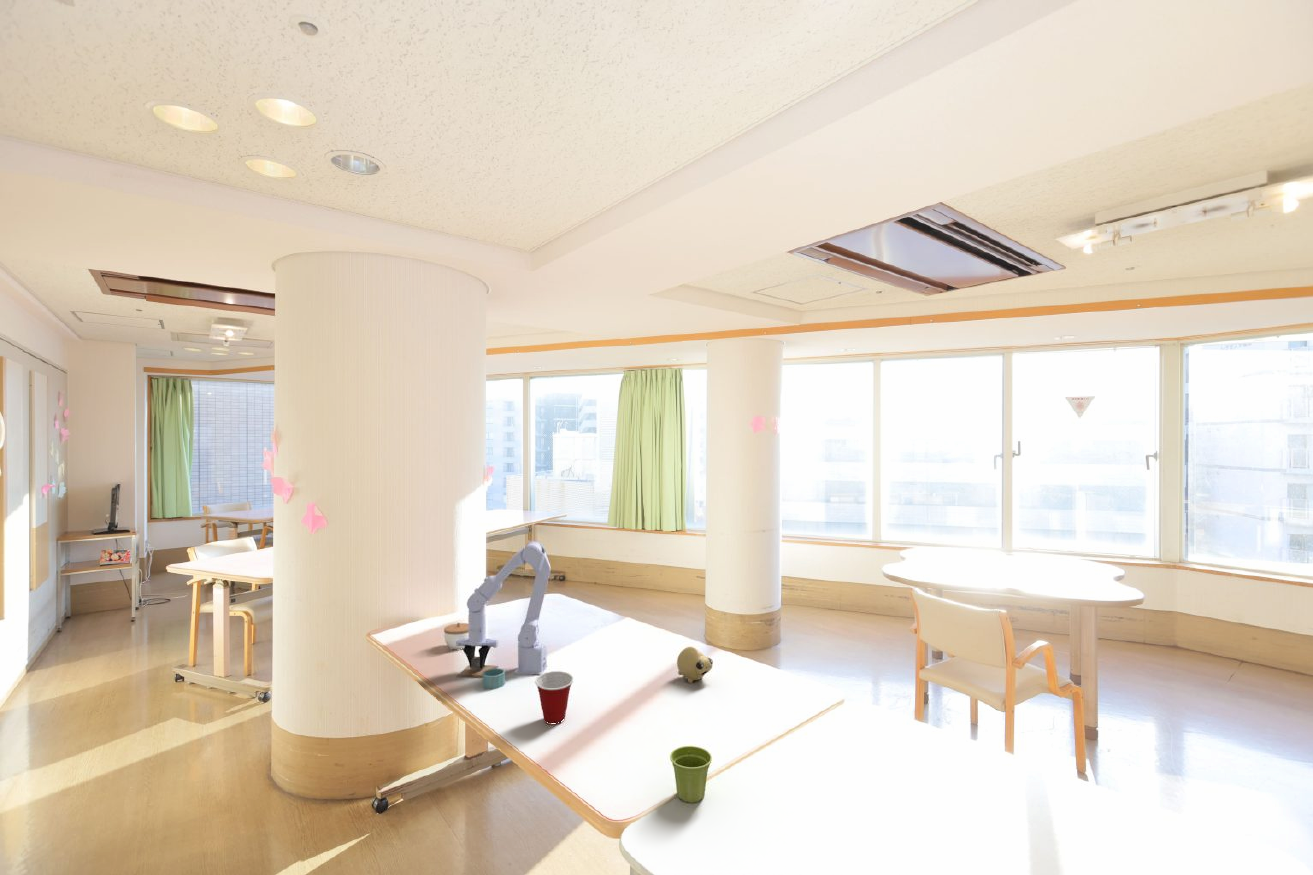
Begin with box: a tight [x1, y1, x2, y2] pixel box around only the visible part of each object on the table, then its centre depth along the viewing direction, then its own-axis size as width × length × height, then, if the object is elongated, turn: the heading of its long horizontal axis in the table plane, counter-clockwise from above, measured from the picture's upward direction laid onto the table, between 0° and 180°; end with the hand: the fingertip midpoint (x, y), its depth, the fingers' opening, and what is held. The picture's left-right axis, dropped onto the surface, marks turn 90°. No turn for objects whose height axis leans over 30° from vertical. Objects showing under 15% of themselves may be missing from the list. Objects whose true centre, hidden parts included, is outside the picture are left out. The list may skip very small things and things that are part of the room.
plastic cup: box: [534, 670, 574, 723], centre depth 171 cm, size 11×11×12 cm
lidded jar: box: [443, 622, 469, 650], centre depth 234 cm, size 11×11×9 cm
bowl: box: [481, 667, 506, 690], centre depth 197 cm, size 7×7×4 cm
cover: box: [458, 656, 496, 677], centre depth 208 cm, size 9×9×5 cm
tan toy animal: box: [676, 646, 714, 683], centre depth 200 cm, size 10×12×11 cm
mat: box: [455, 665, 499, 679], centre depth 208 cm, size 11×11×1 cm
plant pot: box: [669, 745, 713, 803], centre depth 135 cm, size 9×9×9 cm
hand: (477, 667), depth 208 cm, fingers closed on cover, 3 cm apart
